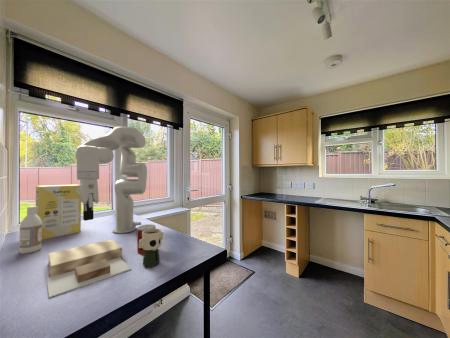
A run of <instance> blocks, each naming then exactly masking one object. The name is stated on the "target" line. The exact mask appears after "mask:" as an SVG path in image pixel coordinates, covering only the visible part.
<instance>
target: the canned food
mask: <svg viewBox="0 0 450 338" xmlns="http://www.w3.org/2000/svg"><path fill="white" fill-rule="evenodd" d="M147 229H157V228H156V225H155V224H143V225H142V224H141V225H138V227H137V233H136V234H137V236H136V239H137V244H136V245H137V246H136V248H137V250H136V251H137V253H138V254H140V255H144V252H145V250H144V249H142V248H139V240H140V239H142V232H143V231H144V230H147Z"/></svg>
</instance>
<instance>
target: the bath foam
mask: <svg viewBox="0 0 450 338" xmlns="http://www.w3.org/2000/svg"><path fill="white" fill-rule="evenodd" d="M18 239H19V241H18V243H19V246H18V247H19V248H18V253H19V254H23V255H24V254H30V253H35V252H37V251H40V250H41V249H42V242H43V239H42V221H41V219H40V218H39V216H38V215H37V214H36V205H31V206H27V207H26V215H25V217H24V218H23V219H22V220H21V222H20V225H19V238H18Z"/></svg>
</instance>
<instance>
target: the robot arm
mask: <svg viewBox="0 0 450 338" xmlns="http://www.w3.org/2000/svg"><path fill="white" fill-rule="evenodd" d="M146 142H147V141H146V138H145V136H144V134H143V133H142V132H141V131H140V130H139V129H138V128H136V127H133V126H115V127H114V128H113V129H111V130H110V131H109V132H108V133H107V134H105V135H104V136H99V137H96V138H93V139H90V140H87V141H85V142H84V143H82V144H81V145H79V146H77V148H76V151H75V153H74V154H75V159H76V180H77V181H79V185H80V199H81V204H83V211H82V215H83V216H82V217H83V218H82V219H83V221H92V220H94V203H95V204H99V202H100V201H99V200H100V199H99V198H100V197H99V186H98V185H99V184H98V180H100V165H107V164H110V163H111V162H112V161H113V160H114V157H115V156H114V155H115V154H114V152H113V151H115V150H116V151H117V150H119V152H120V154H121V155H120V157H121V158H120V164H119V175H120V176H121V177H123V178H122V179H119V180H116V182H114V192H115V227H114V228H113V229H112V233H113V234H127V233H132V232H134V231H135V230H137V227H136V226H142V222H141V221H134V199H133V198H132V196H133V195H143V194H144V193H146V189H147V179H148V167H147V165H146V163H144V162H136V161H137V154H136V153H135V152H134V150H133V149H132V148H134V149H142V148H144V147H145V146H146ZM127 178H128V179H127ZM135 178H136V179H135ZM131 195H132V196H131Z"/></svg>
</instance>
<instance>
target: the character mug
mask: <svg viewBox="0 0 450 338" xmlns="http://www.w3.org/2000/svg"><path fill="white" fill-rule="evenodd" d="M163 240H164V232H163V231H162V229H160V228H156V229H147V230H144V231H143V232H142V239H140V240H139V248H142V249H144V250H145V252H144V254H143V258H142V266H144V267H146V268H153V267H155V266H156V265H159V264H161V258H160V252H159V248H161V246H162V241H163Z"/></svg>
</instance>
